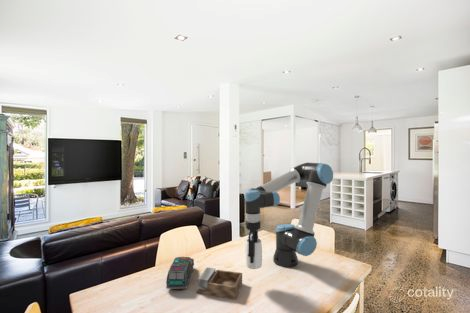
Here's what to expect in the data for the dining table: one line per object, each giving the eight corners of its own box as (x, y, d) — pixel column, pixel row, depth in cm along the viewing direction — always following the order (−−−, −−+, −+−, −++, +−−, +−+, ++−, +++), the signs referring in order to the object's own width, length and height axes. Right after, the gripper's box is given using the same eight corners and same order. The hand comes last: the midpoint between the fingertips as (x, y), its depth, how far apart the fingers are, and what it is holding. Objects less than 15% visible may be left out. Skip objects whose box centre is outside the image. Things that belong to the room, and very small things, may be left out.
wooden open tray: (242, 283, 126) (242, 271, 126) (235, 299, 112) (235, 285, 112) (206, 278, 131) (206, 266, 131) (196, 292, 117) (196, 279, 117)
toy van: (194, 267, 143) (194, 251, 143) (186, 291, 118) (186, 271, 118) (176, 267, 143) (176, 251, 143) (165, 292, 118) (165, 272, 118)
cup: (243, 265, 126) (242, 239, 125) (257, 262, 129) (257, 236, 128) (250, 273, 118) (249, 245, 117) (265, 269, 121) (264, 242, 120)
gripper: (249, 214, 134) (250, 254, 134) (241, 227, 113) (242, 273, 114) (263, 215, 132) (264, 255, 133) (256, 227, 111) (258, 275, 112)
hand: (254, 264), depth 123 cm, fingers closed on cup, 8 cm apart
